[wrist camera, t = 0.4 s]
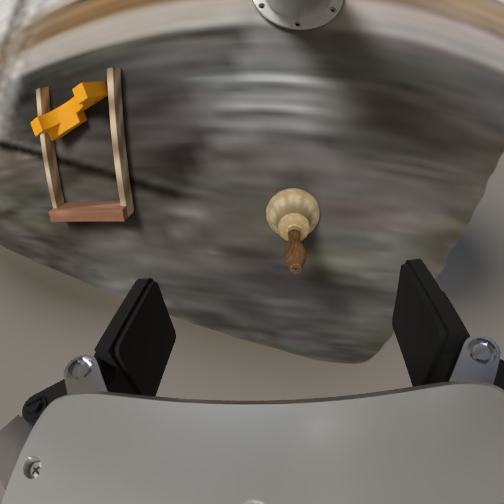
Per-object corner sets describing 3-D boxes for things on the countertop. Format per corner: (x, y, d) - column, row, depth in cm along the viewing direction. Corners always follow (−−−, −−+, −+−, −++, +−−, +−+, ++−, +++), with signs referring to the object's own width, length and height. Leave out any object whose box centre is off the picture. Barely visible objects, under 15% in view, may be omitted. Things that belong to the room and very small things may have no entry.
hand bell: (266, 238, 50) (261, 300, 36) (265, 188, 46) (258, 236, 32) (318, 237, 49) (332, 299, 35) (320, 188, 45) (338, 235, 31)
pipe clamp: (62, 137, 43) (39, 145, 38) (53, 116, 42) (30, 122, 36) (113, 104, 41) (91, 108, 35) (104, 81, 39) (81, 82, 33)
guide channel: (44, 88, 39) (30, 90, 35) (120, 67, 38) (107, 67, 34) (62, 212, 51) (51, 221, 47) (134, 211, 49) (124, 221, 46)
